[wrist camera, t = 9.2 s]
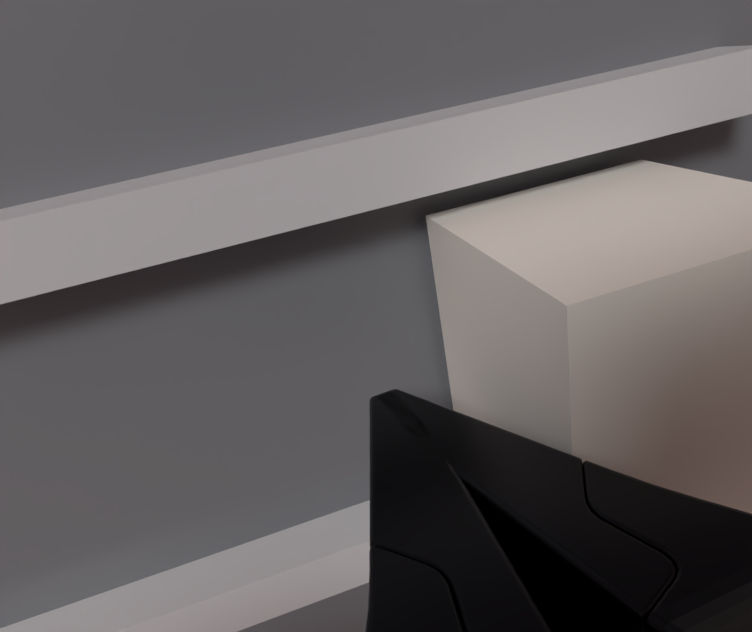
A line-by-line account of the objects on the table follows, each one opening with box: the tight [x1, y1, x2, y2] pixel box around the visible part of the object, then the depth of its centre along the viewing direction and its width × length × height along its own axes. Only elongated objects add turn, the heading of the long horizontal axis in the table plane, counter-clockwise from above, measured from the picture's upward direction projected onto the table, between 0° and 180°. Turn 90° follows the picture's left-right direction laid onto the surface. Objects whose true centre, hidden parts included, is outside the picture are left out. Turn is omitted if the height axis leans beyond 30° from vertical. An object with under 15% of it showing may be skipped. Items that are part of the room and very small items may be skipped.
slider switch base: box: [0, 0, 752, 632], centre depth 10 cm, size 36×16×4 cm, turn 101°
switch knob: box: [426, 160, 752, 514], centre depth 9 cm, size 4×5×4 cm
